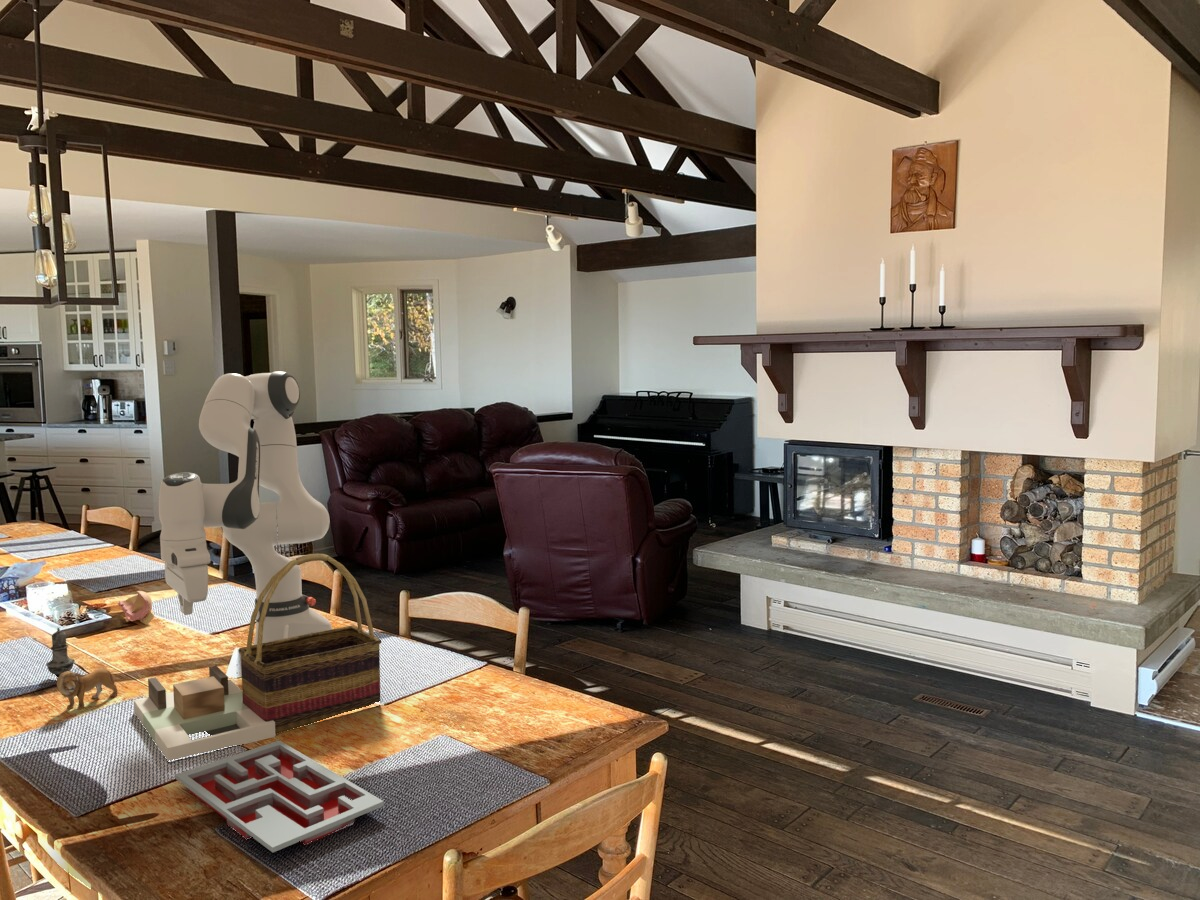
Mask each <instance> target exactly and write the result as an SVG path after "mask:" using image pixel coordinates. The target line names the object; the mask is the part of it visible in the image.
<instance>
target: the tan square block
mask: <svg viewBox="0 0 1200 900" xmlns="http://www.w3.org/2000/svg"><path fill="white" fill-rule="evenodd" d="M172 687H173V689H172V690H173V691H172V692H174V708H175V709H176V710H177V712H178V713H179V714H180V716H181V717H182V718H183V720H184V719H189V718H193V717H198V716H202V715H207V714H211V713H216V712H220V711H225V703H224V687H223V686H222V685H221V684H220V683H219V682H218V681H217V679H216V678H215V677H214V676H212V677H209V676H208V677H203V678H198V679H194V680H188V681H182V682H178V683H173V684H172Z"/></svg>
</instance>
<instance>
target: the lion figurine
mask: <svg viewBox="0 0 1200 900" xmlns="http://www.w3.org/2000/svg"><path fill="white" fill-rule="evenodd" d="M56 686H57V689H58V691H59V693H60V694H61V696H63V698H67V699H68V702H69V704H68V705H67V706H66V709H69V710H70V709H73V708H74V706H75V697H77V699H78V706H77V710H83V709H84V708H85V703H84V701H85V700H84V697H85V693H87V692H90V691H91V690H93V689H94V688H96V693H95V694H94V695H91V699H97V698H98V697H100V695H101V693H102V692H103V688H102V686H104V687H105V688H107V689H110V690H112V691H113V692H112V693H111V694H110V696H111V697H116V696H118V689H117V685H115V680H114V677H113V674H112V673H111V671H110V670H108V669H106V668H98V669H95V670H93V671H92V672H90V673H87V674H85V675H84V674H80V673H79V672H74V671H71V670H70V671H67V672H63V673H61V674H60V676H59V677H58V678H57V681H56Z"/></svg>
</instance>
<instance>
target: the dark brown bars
mask: <svg viewBox="0 0 1200 900" xmlns="http://www.w3.org/2000/svg"><path fill="white" fill-rule="evenodd" d="M208 672H209V676H208V677H212V676H214V677H215V678H216V679H217V681H218V682H219V683H220V684H221V685H222V686H223V687H224V695H229V691H228V680H229V676H228V675H227V674H226V673H224V671H222V670H221V669H220V668H219V667H218V666H217V665H212V666H208ZM147 684H148V697H149V698H150V699H151V700H152V702H153V703H154V704H155V706H156V707H157V708H158V709H159V710H160V709H164V708H166V693H167V690H166V688H165V687H164V686H163V685H162V683H161V682H160V680H158V678H157V677H151V678H148V679H147Z"/></svg>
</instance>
